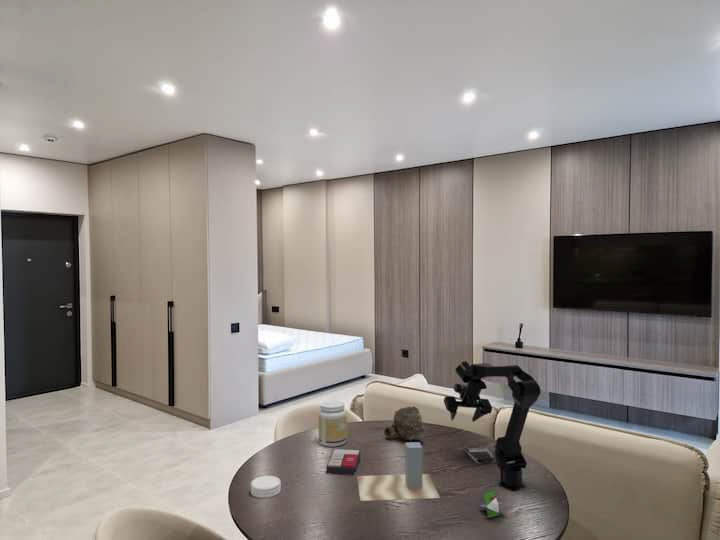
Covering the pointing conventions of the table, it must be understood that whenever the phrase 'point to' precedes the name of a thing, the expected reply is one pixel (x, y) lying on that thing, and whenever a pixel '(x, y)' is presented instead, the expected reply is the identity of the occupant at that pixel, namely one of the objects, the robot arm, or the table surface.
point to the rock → (406, 424)
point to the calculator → (343, 462)
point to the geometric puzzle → (491, 504)
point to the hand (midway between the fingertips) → (462, 420)
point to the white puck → (265, 486)
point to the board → (393, 488)
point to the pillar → (413, 465)
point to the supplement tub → (332, 424)
